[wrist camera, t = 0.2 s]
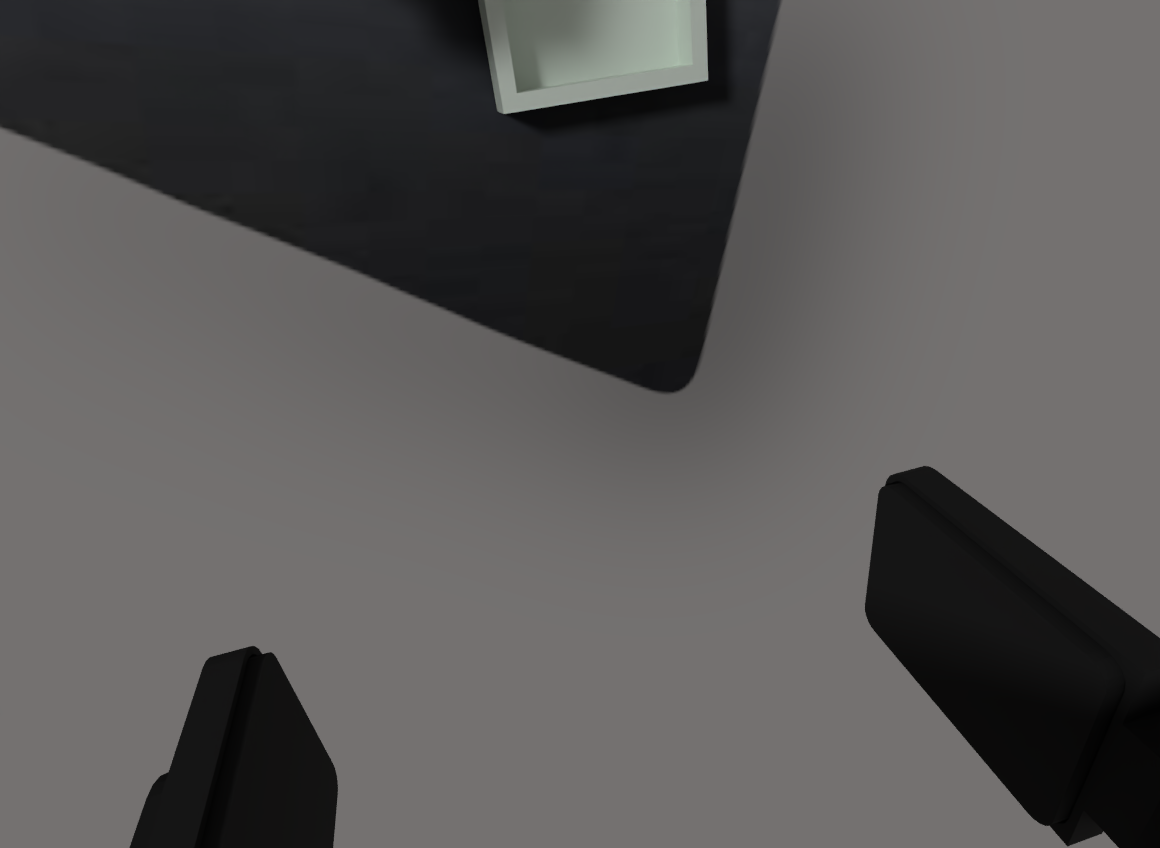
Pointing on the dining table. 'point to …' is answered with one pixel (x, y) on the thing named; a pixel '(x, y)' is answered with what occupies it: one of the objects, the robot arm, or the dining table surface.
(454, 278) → the dining table surface
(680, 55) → the tray
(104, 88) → the dining table surface
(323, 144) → the dining table surface
